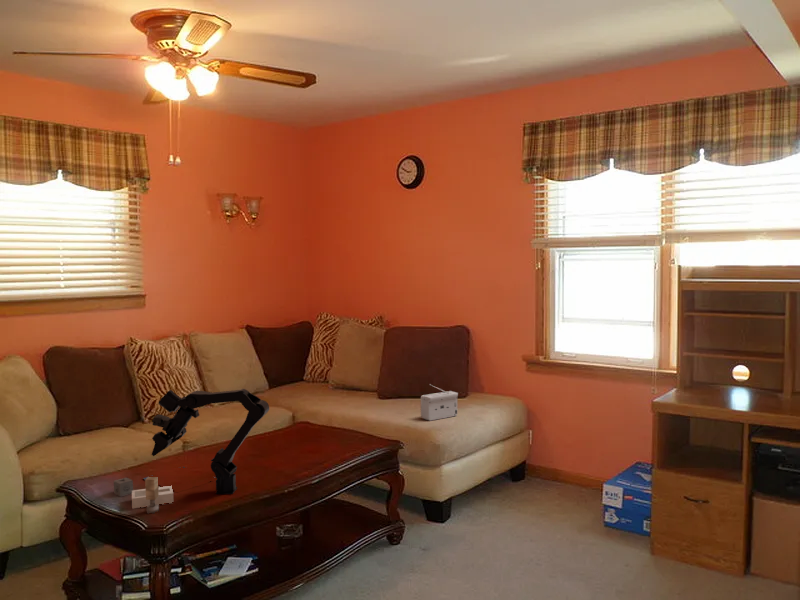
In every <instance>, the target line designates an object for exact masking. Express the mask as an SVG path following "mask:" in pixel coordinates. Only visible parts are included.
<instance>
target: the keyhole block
mask: <svg viewBox="0 0 800 600" xmlns="http://www.w3.org/2000/svg"><path fill="white" fill-rule="evenodd" d="M158 491H159V497H158V498H156V499H155V504H157V505H159V504H162V505H165V504H164V503H169V504H173V503H172V502H174V492H173V489H172V485H171V486H163V487H160V486H158ZM149 505H150V500H146V488H141V489H133V491H132V493H131V508H132V510H133V509H140V507H141V508H147V507H146V506H149ZM159 506H160V505H159Z"/></svg>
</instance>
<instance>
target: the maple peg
mask: <svg viewBox="0 0 800 600" xmlns="http://www.w3.org/2000/svg"><path fill="white" fill-rule="evenodd" d="M147 477H148V478H147V479H145V480H144V485H145V489H146V500H150V505H149V506H147V507H146V514H149V513H152V514H156V513H155V512H157V511H158V512H159V511H160V505H157V504H155V499H156V498H158V497H159V491H158V487H159V486H158V477H149V476H147ZM158 512H157V513H158Z"/></svg>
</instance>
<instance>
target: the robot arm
mask: <svg viewBox="0 0 800 600" xmlns="http://www.w3.org/2000/svg"><path fill="white" fill-rule="evenodd" d="M231 402H232V403H233V402H239V403H241V406H243V407H244V409H245V410H246V411H248V412H247V415H246V417H245V420H244V422H243V423H242V425H241V426H240V427H239V429H238V430H237V431H236V433H235V435H234V436H233V437H232V439H231V440H230V442H229V443H228V445H227V446H226V447H225V448H224V447H222V448H220V449H219V450H218V451H217V452H216V453H215V454H214V455H215V456H214V457H213V458H212V459H211V460H210V461H211V463H210V469H211V471H212V472H213V473H214V477H215V478H217V480H216V481H215V490H216V492H215V494H216V495H220V494H221V495H233V494H234V493H235V491H237V489H238V486H236V485H237V484H236V483H237V479H236V478H237V477H236V472H237V468H238V466H237V465H236V464H235V463H234V462H233V461H234V457H235V454H236V452H237V451H238V450H239V449H240V448H239V447H240V446H241V445H242V444H243V442H244V441H245V439H246V438H247V437H248V435H249V434H250V432H252V429H253V428H254V427H255V425H256V424H257V423H258V422H259V421H260V420H261V419H263V417H264V416H265V415H266V414H268V412H269V411H270V404H269V403H268V402H267V401H266V400H264V399H261V398H259V396H256V395H255V394H254V393H251V392H250V391H249V390H247V389H246V388H241V389H235V390H226V391H224V390H223V391H215V392H214V391H213V392H211V391H204V390H195V391H192V392H191V393H189V394H187V395H186V396H182V397H180V396H179V395H178V394H176V393H175V392H174V391H173V389H170V390H168V391H167V392H166V393H165V394H164V395H163V396H162V397H161V398H160V399H159V400H158V402H157V404H158V405H159V406H161V407H162V408H164V410H166V411H167V412H168V413H172V412H173V413H175V414H174V415H173V416H172V417H170V416H167V415H163V414H160V413H159V414H157V415H154V417H153V418H152V420H151V422H152V426H157V427H160V428H162V431H158V432H156V433H155V434H154V435H153V436H152V437H151V439H152V441H153V442H154V446H153V449H152V452H151V456H153V457H155V456H157V454H160V453H161V452H163V451H164V450H166V449H167V448H168V447H170V446H171V445H172V444H173V443H174V444H175V442H178V440H180V439H181V438H182V437H184V436H185V434H186V433H187V432H188V431H187V426H188V423H189V422H190V420H191V419H192V417H193V418H194V419H196V418H198V417H200V412H199V409H197V408H201V407H204V406H206V405H210V404H220V403H221V404H222V403H231Z"/></svg>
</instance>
